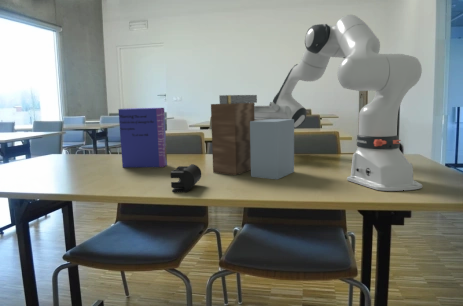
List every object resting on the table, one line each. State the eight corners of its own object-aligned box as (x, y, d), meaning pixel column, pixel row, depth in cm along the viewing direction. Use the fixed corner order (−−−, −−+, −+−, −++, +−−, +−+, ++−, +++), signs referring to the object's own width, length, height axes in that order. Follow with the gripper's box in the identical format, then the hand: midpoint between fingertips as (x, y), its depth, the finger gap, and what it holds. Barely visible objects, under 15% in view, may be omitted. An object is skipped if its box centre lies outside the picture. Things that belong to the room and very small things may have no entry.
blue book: (167, 165, 150) (164, 107, 147) (164, 167, 146) (160, 107, 142) (127, 165, 152) (123, 108, 148) (122, 167, 147) (118, 108, 144)
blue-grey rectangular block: (269, 169, 135) (268, 119, 133) (294, 171, 130) (294, 119, 127) (250, 176, 124) (249, 121, 121) (277, 179, 118) (276, 121, 116)
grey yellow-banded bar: (249, 102, 146) (249, 95, 145) (257, 102, 144) (257, 94, 143) (218, 104, 127) (218, 95, 127) (227, 103, 125) (227, 95, 125)
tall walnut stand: (233, 166, 144) (231, 103, 140) (255, 168, 139) (254, 102, 135) (213, 172, 132) (210, 104, 129) (236, 175, 127) (234, 103, 123)
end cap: (194, 193, 104) (193, 170, 103) (171, 192, 105) (169, 170, 104) (202, 184, 114) (201, 163, 113) (180, 184, 115) (179, 164, 114)
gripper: (255, 111, 168) (241, 97, 156) (296, 112, 157) (284, 96, 146) (251, 124, 166) (237, 110, 155) (293, 125, 155) (281, 110, 144)
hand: (260, 103), depth 150 cm, fingers open, 8 cm apart
